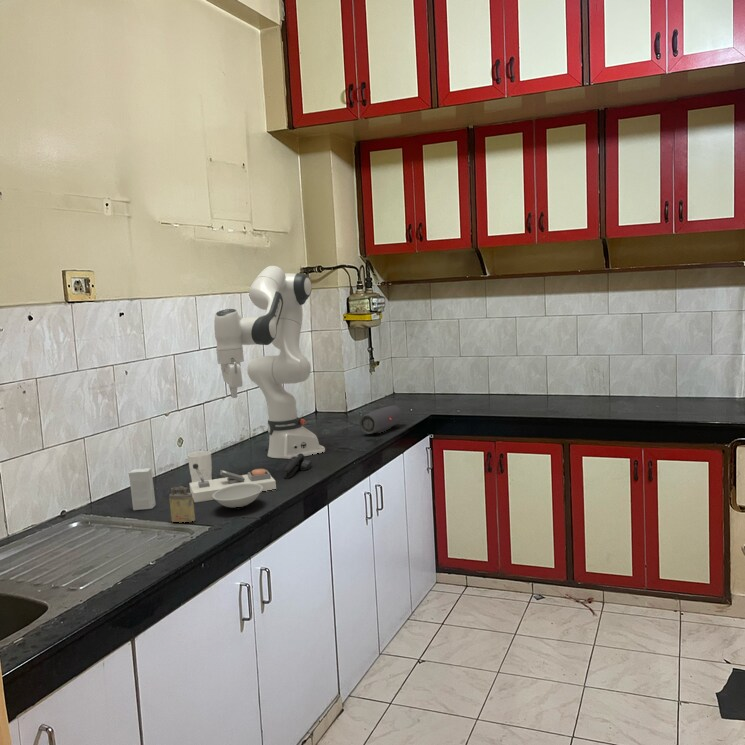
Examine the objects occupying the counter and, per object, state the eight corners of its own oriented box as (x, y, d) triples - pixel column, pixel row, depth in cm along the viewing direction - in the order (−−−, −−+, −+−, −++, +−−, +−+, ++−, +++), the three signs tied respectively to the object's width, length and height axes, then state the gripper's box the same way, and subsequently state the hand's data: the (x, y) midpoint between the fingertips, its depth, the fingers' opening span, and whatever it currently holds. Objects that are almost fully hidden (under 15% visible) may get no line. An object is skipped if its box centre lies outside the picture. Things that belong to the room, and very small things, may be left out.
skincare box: (155, 505, 232) (152, 467, 231) (152, 509, 228) (148, 471, 227) (136, 506, 232) (132, 469, 231) (132, 510, 228) (128, 472, 227)
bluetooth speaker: (377, 437, 311) (376, 414, 310) (359, 436, 316) (357, 413, 315) (404, 426, 330) (402, 404, 329) (386, 425, 335) (384, 404, 334)
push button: (264, 475, 248) (264, 468, 248) (267, 478, 244) (266, 470, 244) (251, 476, 247) (250, 469, 246) (253, 480, 243) (253, 472, 242)
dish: (232, 498, 234) (231, 482, 234) (273, 499, 230) (272, 483, 229) (203, 515, 218) (201, 499, 217) (246, 517, 213) (245, 501, 213)
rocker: (241, 478, 246) (242, 475, 246) (243, 481, 242) (244, 478, 242) (219, 472, 243) (220, 469, 243) (221, 475, 239) (222, 472, 239)
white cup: (204, 477, 263) (201, 450, 262) (218, 480, 258) (215, 452, 257) (185, 483, 257) (182, 455, 256) (199, 486, 252) (197, 457, 251)
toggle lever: (205, 479, 241) (196, 462, 239) (206, 481, 239) (197, 463, 237) (200, 482, 240) (191, 464, 239) (201, 483, 238) (192, 465, 237)
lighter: (197, 519, 215) (194, 485, 213) (191, 523, 211) (188, 489, 210) (175, 519, 216) (171, 485, 215) (168, 523, 213) (165, 489, 211)
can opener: (296, 466, 271) (295, 451, 270) (314, 466, 269) (312, 451, 268) (276, 479, 254) (274, 463, 253) (295, 480, 252) (293, 464, 251)
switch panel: (267, 480, 254) (266, 466, 253) (276, 489, 240) (275, 476, 240) (190, 491, 245) (188, 478, 245) (194, 502, 232) (193, 488, 232)
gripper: (244, 358, 244) (248, 400, 245) (235, 354, 263) (238, 392, 265) (225, 360, 242) (229, 402, 243) (217, 355, 261) (221, 394, 263)
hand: (234, 397), depth 254 cm, fingers closed
